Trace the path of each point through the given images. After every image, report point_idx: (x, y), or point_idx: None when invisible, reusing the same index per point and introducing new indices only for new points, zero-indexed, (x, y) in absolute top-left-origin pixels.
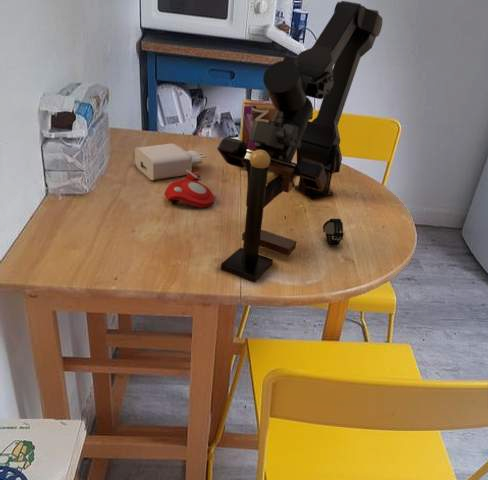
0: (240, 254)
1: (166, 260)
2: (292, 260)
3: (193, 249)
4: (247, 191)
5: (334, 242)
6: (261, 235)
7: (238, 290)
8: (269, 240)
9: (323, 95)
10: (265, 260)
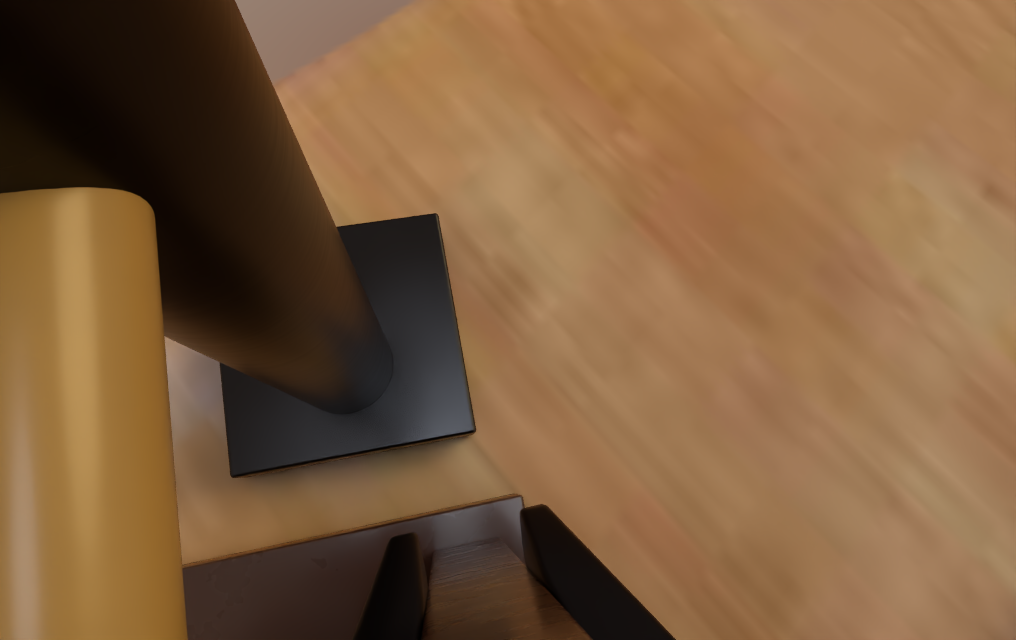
0: (421, 366)
1: (681, 113)
2: None
3: (675, 276)
4: (633, 601)
5: None
6: None
7: None
8: (311, 567)
9: None
10: (260, 426)
